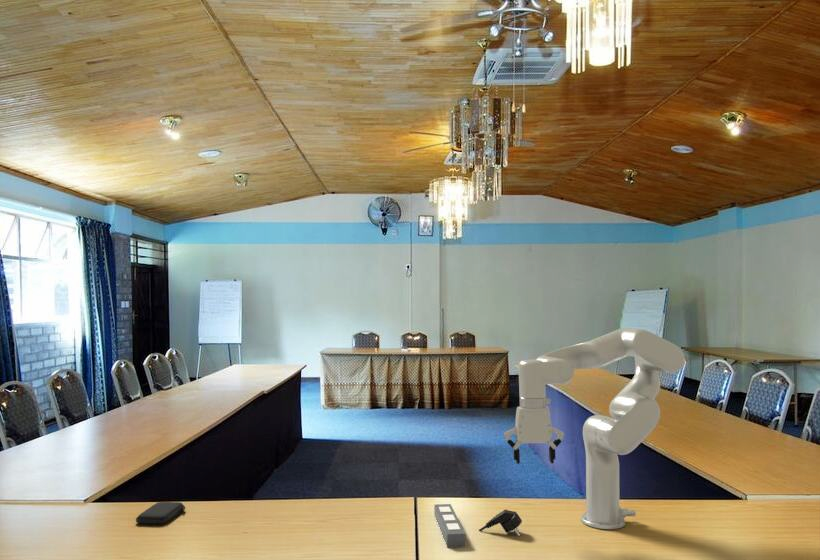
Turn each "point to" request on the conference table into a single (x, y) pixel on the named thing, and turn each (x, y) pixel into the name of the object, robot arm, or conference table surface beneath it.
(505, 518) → the power plug
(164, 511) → the carrying case or bag
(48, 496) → the conference table surface
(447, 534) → the power strip
